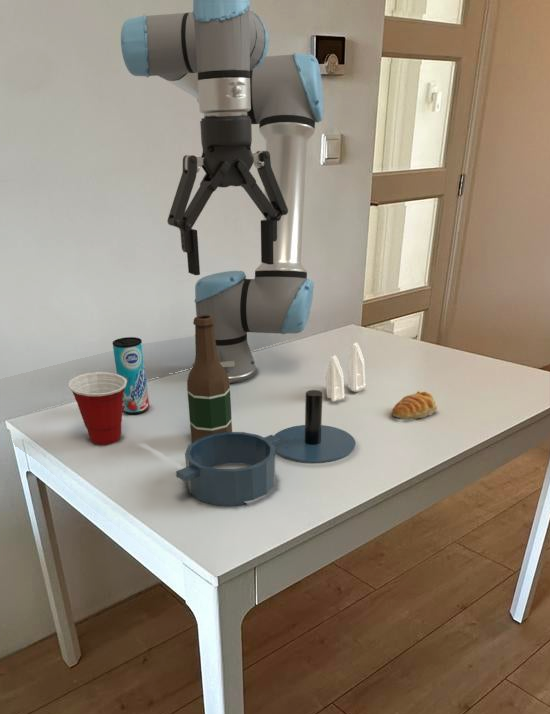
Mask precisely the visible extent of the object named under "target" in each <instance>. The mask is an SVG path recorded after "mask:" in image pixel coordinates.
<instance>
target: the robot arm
mask: <svg viewBox="0 0 550 714" xmlns="http://www.w3.org/2000/svg"><path fill="white" fill-rule="evenodd" d="M192 1H193V2H192V5H193V6H192V11H191V12H179V13H165V14H164V13H163V14H152V15H146V14H143V15H140V16H135V17H130V18H127V19H126V20H125V21H124V22H123V24H122V27H121V31H120V48H121V55H122V58H123V62H124V65H125V67H126V69H127V71H128V73H130V74H131V75H132V76H134V77H146V78H150V77H159V78H161V79H163V80H166V81H167V82H168V83H170V84H172V85H174V86H176V87H177V88H179V89H181V90H182V91H183V92H185V93H187V94H188V95H190V96H191V97H194V98H195V99H196V101H197V103H198V106H199V109H198V110H199V113H200V114H203V118H201V120H199V126H200V140H201V148H202V152H201V153H202V154H201V156H196V155H193V154H192V155H191V154H185V155H183V156H182V173H181V176H180V179H179V182H178V186H177V188H176V191H175V195H174V197H173V201H172V205H171V207H170V210H169V214H168V216H167V224H168V225H169V226H172V227H175V228H177V229H179V233H180V244H181V246H180V247H181V250H182V252H183V253H186V257H187V269H188V274H191V275H194V276H201V267H200V253H199V238H198V230H197V229H194V228H193V227H194V225H195V224H196V222H197V221H198V218H199V217H200V215H201V213H202V212H203V210H204V209H205V207H206V205H207V203H208V202H209V200H210V198H211V196H212V195H213V193H214V192H215V191H217V189H218V188H222V189H223V188H228V187H241V188H243V190H244V191H245V192H246V193H247V195H248V196H249V198H250V199H251V200H252V202H253V203H254V204H255V206H256V207H257V208H258V210H259V211H260V213H261V214H262V216H263V219H261V220H260V255H261V256H260V264H259V265H258V266H257V267H256V268H255V269H254V278H247V275H246V272H245V271H242V270H227V271H221V272H216V273H212V274H210V275H206V276H202V277H201V278H199V279H198V280H197V281H196V283H195V285H194V294H195V295H194V297H195V299H194V303H195V315H196V316H195V317H197V316H200V315H210V316H212V317H214V320H215V323H214V332H215V340H216V349H217V355H218V359H219V362H220V364H221V365H222V366H223V368H224V369H225V371H226V373H227V375H228V378H229V384H235V383H241V382H243V381H247V380H249V379H251V378H253V377H254V376H255V375H256V373H257V372H256V363H255V362H256V361H255V360H254V357H253V354H252V350H251V348H250V345H249V343H248V333H253V334H254V333H255V334H281V335H286V334H301V333H302V332H303V331H304V330H305V328H306V326H307V324H308V321H309V318H310V313H311V309H312V305H313V298H314V297H313V296H314V287H315V286H314V280H312V279H310V278H308V270H307V269H306V268H305V267H304V265H303V264H302V263H301V262H302V245H303V227H304V226H303V224H304V223H303V222H304V206H305V205H304V203H305V202H304V201H305V183H306V182H305V181H306V165H307V145H308V144H307V143H308V141H309V139H310V138H311V137H312V136H313V135H315V130H316V129H315V128H316V123H318V124H319V123H320V122H322V121H323V119H324V92H323V82H322V81H323V80H322V74H321V68H320V64H319V61H318V58H316V56H314V55H313V54H307V53H304V54H303V53H302V54H301V53H300V54H299V53H295V52H293V53H292V54H285V55H284V54H283V55H282V54H281V55H269V56H267V54H268V50H269V43H270V41H269V33H268V30H267V27H266V25H265V22H264V21H263V20H262V19H261V17H260V16H259V15H258V14H257V13H255V12H254V11H253V10H250V7H251V2H250V0H192ZM252 125H259V127H258V132H259V134H260V135H261V136H262V137H263V139H264V140H265V150H257V151H255V152H254V153H253V152H252V142H253V133H252V132H253V131H252V130H253V129H252ZM253 165H254V167H255V169H256V170H257V174H258V177H259V178H260V180H261V183H262V185H263V188H264V192H263V190H262V189H261V187H260V186H259V185H258V183H257V179H255V177H254V176H253V174H252V173H251V169H252V166H253ZM201 168H202V170H203V171H204V173H205V175H204V176H203V177H202V180H201V181H200V183H199V187H198V189H197V191H196V193H195V194H194V196H193V198H192V199H191V201H190V202H189V200H190V198H191V194H192V191H193V188H194V185H195V182H196V179H197V173H199V172H200V169H201ZM193 362H194V363H193V365H192V367H193V366H194V364H195V361H193Z"/></svg>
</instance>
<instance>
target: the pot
mask: <svg viewBox="0 0 550 714" xmlns="http://www.w3.org/2000/svg"><path fill="white" fill-rule="evenodd" d="M279 444H280V439H279V438H277V437H275V436H274V435H273V434H270V435H267V436H261V435H259V434H257V433H256V434H255V433H250V432H245V431H232V432H224V433H217V434H211V435H208V436H205V437H203V438H200V439H198V440H196V441H194V442H193V443H192V442H191V443H190V444H189V445H188V446H187V447H186V451H185V453H184V458H185V459H184V460H185V467H182V468H180V469H178V470H176V471H175V474H176V477H177V478H178V479H179V480H181V481H183V482H185V483H186V482H187V488H188V490H189V493H190V494H191V495H192V496H193V497H194V498H195V499H197V500H198V501H200V502H202V503H205V504H208V505H213V506H218V507H219V506H220V507H239V506H245V505H248V503H246V502H250V501H251V502H252V501H255V500H257V499H259V498H262V497H264V496H266V495H268V493H270V491H271V490H272V489H273V488H274V487H275V484H276V453H275V447H274V446H276V445H279ZM227 464H236V465H237V464H240V465H241V464H243V465H248V466H245V467H239V468H214V467H216V466H222V465H227Z"/></svg>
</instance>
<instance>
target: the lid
mask: <svg viewBox="0 0 550 714" xmlns="http://www.w3.org/2000/svg"><path fill="white" fill-rule="evenodd" d="M304 398H305V399H304V400H305V401H304V402H305V403H304V404H305V405H304V410H305V411H304V424H301V425H295V426H290V427H286V428H284V429H281V430H279V431H278V432H277V433H275V434H274V435H273V436H275V437H277V438H279V439H280V444H279V445H276V446H274V447H275V455H276V454H277V455H278V456H280V457H281V458H284V459H286V460H289V461H293V462H296V463H297V462H298V463H304V464H305V463H306V464H322V463H331V462H335V461H338V460H342V459H343V458H346V457H347V456H350V455H351V454H352V453H353V452H354V450H355V448H356V439H355V438H354V436H352V435H351V434H350V433H349V432H347V431H346V430H343V429H341V428H338V427H334V426H330V425H324V424H322V423H323V421H322V419H323V418H322V417H323V391H321V390H317V389H311V390H307V391H305V397H304Z"/></svg>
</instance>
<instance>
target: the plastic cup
mask: <svg viewBox="0 0 550 714" xmlns="http://www.w3.org/2000/svg"><path fill="white" fill-rule="evenodd" d="M126 384H127V380H126V379H125V378H124V377H123V376H120V375H118V374H117V373H113V372H108V371H94V372H88V373H83V374H79V375H76V376H75V377H73V378H72V379H70V380H69V382H68V383H67V386H68V388H69V390H70V391H71V392H72V395H73V397H74V400H75V402H76V404H77V407H78V409H79V413H80V415H81V418H82V422H83V424H84V426H85V428H86V431H87V434H88V437H89V439H90V441H91V443H92V444H95V445H99V446H108V445H111V444H115V443H117V442H119V440H121V436H122V422H123V410H122V404H123V393H124V388H125V387H126Z"/></svg>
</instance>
